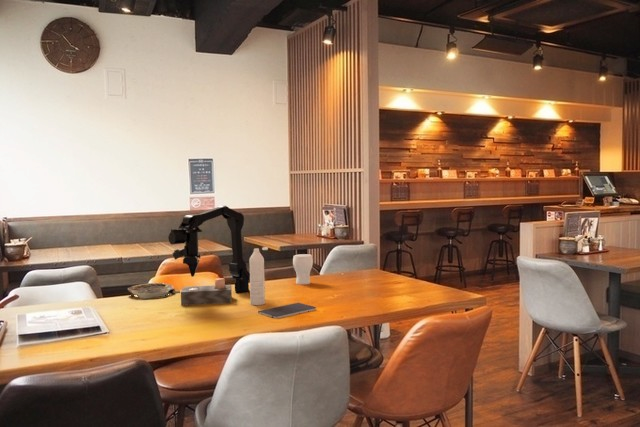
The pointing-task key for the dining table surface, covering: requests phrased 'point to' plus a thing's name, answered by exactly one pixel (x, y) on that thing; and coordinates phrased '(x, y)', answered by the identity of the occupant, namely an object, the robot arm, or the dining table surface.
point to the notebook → (287, 310)
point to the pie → (152, 290)
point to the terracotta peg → (220, 283)
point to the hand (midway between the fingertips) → (192, 276)
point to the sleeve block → (206, 295)
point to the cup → (302, 268)
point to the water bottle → (257, 278)
